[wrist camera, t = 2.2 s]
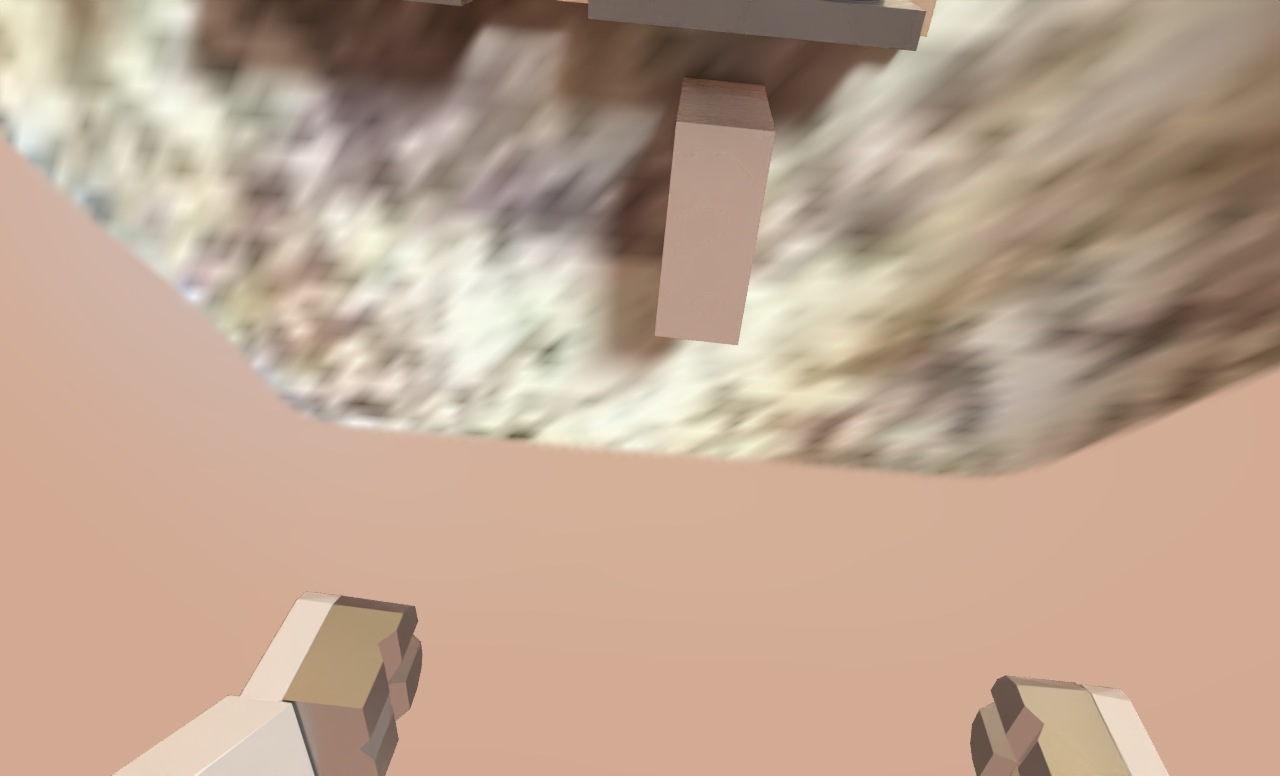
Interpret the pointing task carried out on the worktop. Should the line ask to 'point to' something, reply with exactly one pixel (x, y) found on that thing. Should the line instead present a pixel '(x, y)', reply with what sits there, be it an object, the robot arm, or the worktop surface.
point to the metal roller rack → (777, 18)
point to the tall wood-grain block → (713, 209)
